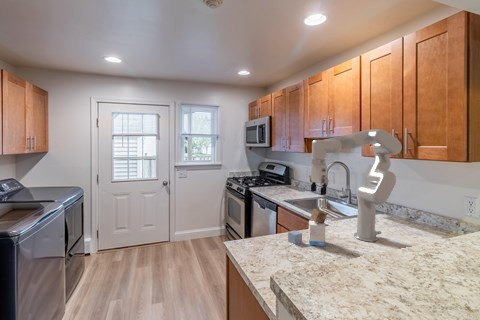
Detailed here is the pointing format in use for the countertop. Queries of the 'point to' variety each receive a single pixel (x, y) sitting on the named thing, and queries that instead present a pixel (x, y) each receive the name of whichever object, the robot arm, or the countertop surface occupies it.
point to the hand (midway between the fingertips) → (318, 192)
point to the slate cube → (294, 237)
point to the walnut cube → (318, 215)
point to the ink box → (316, 233)
